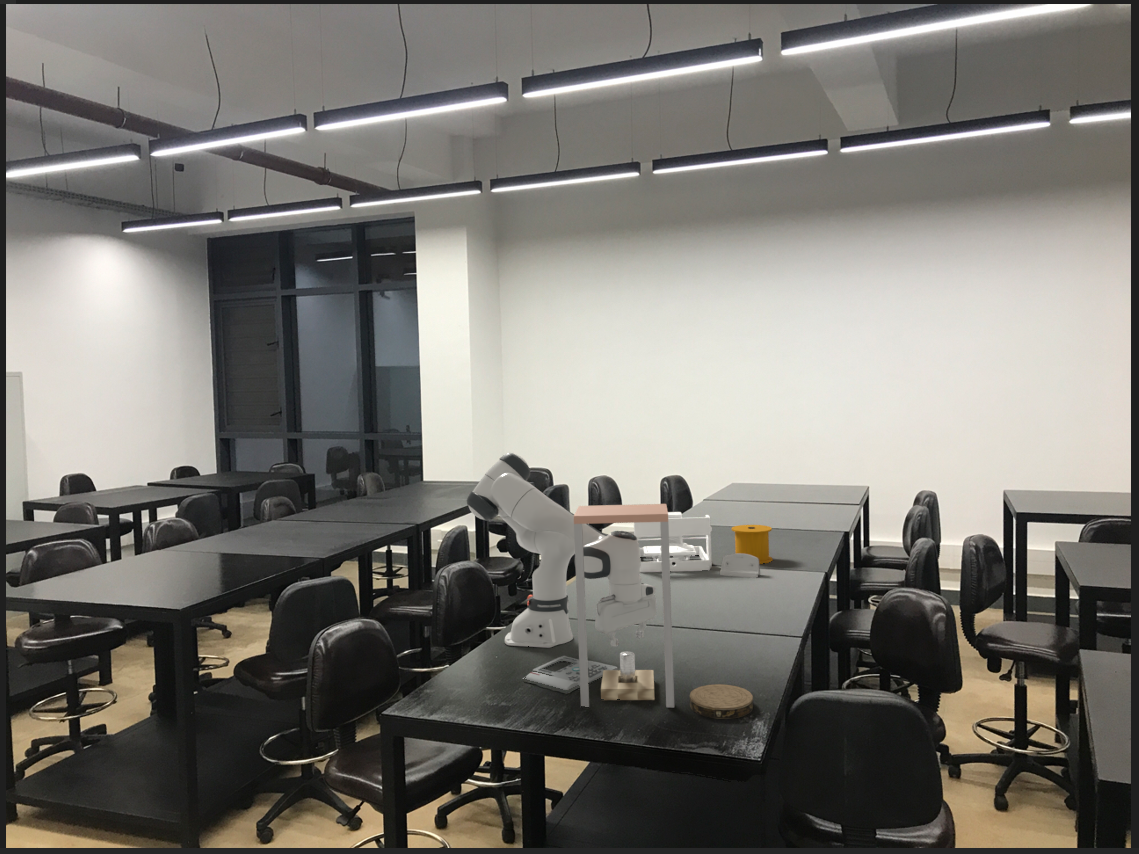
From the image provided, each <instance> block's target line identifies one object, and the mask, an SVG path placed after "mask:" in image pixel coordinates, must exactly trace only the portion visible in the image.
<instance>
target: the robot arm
mask: <svg viewBox="0 0 1139 854" xmlns="http://www.w3.org/2000/svg"><path fill="white" fill-rule="evenodd" d="M530 475H531V468H530V467H529V464H528V463H527V461H526V460H525V459H524V458H523V457H521V456H520V455H518V454H515V453H514V452H507V453H505V454H502V456H501V457H500V458H499V460H498V461H497V462H495V464H493V465H492V466H491V467H490V468H489V469H488V470H487V471H486V472H485V474H484V475H483V477H482V478H481V479H480V480H479V482H478V483H477V485H475V487H474V488H473V490H472V491H470V493H469V495H468V496H467V498H466V504H467V506H468V508H469V511H470V512H471V513H472V514H473V516H475V517H476V518H478V519H480V520H483V521H485V522H486V521H487V522H488V521H492V520H494V519H495V518H496V517H498V516H499V517H500V518H501V519H502V520H503V521H504V522H505V523H506V524H507V525H508V526H509V527H510V528H511V529H512V530H513V531H514V533H515V538H516V542H517V543H518V545H519V546H520V547H521V548H523V549H524V550H526V551H528V552H531V553H535V554H539V555H540V556H541V557H540V563H539V565H538V567H537V568H536V569H534V571H533V573H532V575H531V577H532V578H531V579H532V594H529V595H528V596H527V598H526V602H527V604H526V605H527V608H526V609H524V610H523V611H522V612H521V613H520V614H519V615H517V616H516V617H515V619H514V620H513V622H512V624H511V630H510V632H508V633H507V634H506V635H505V637H504V643H505V644H506V645H507V646H512V647H513V646H514V647H528V646H529V647H531V648H533V647H534V648H548V649H550V648H552V647H555V646H557V645H562V644H565V643H566V644H567V643H568V642H570V641H572V640H573V639H574V634H573V632H572V628H571V624H570V618H569V611H570V604H569V603H570V602H569V595H568V594H567V571H568V566H569V564H570V561H571V558H572V557H573V556H575V538H574V514H575V513H573V512H571V511H570V510H568V509H566V508H565V507H563V506H562V505H560V504H559V503H557V502H556V501H554V500H553V499H551V498H550V497H549V496H547V495H545V494H544V493H543V492H542V491H540V490H539V489H538V488H537V487H535V486H534V485H533V484H531V483H530V482H529V481H528V479H529V478H530ZM582 527H583V554H584V579H587V580H595V579H602V578H607V579H608V593H609V594H608V596H604V597H601V598H600V599H599V601H597V602H596V603H597V604H596V611H595V617H594V618H595V622H594V627H595V630H596V632H598V633H601V634H606V635H607V637H608V639H609V642H610V646H611V647H612V648H615V647H618V646H619V645H620V642H619V639H618V638H616V636H615V635H616V631H620V630H622V629H625V628H628V627H631V626H632V627H633V626H635V625H638V627H637V630H635V633H634V634H635V638H636V639H639V640H640V639H643V638H645V637H644V635H645V634H644V632H645V630H646V627H647V621H651V620H654V619H656V616H657V613H658V608H657V607H658V606H657V604H658V603H657V598H656V597H657V596H656V595H655V593H656V587H655V586H653V585H650V584H647V583H643V582H642V576H641V574H640V573H641V572H640V566H641V562H642V560H641V559H642V558H640V548H641V547H640V543H639V540H638V539H639V538H638V537H636V536H635V535H634V533H632V532H629V531H624V530H613V531H611V532H609V533H608V534H607V533H604V532H601V531H600V530H598V529H597V528H595V527H593V525H590V524H582ZM573 561H574V567H575V568H576V564H575V558H574V560H573Z"/></svg>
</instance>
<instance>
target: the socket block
mask: <svg viewBox="0 0 1139 854" xmlns="http://www.w3.org/2000/svg"><path fill="white" fill-rule="evenodd" d="M654 674H655V673H654V669H635V683H621V675H620V669H618V670H603V677H602V678H601V684H600V698H601V699H604V700H603V701H618V700H617V699H620V700H619V701H655V682H654V681H655V678H654ZM601 699H600V700H601Z"/></svg>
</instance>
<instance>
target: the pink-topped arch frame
mask: <svg viewBox="0 0 1139 854" xmlns="http://www.w3.org/2000/svg"><path fill="white" fill-rule="evenodd" d="M668 512H669V511H668V507H667V503H650V504H649V503H646V504H645V503H644V504H640V503H639V504H638V503H637V504H608V505H606V504H603V505H601V504H599V505H578V507H577V508H576V510H575V513H573V514H574V538H575V554H574V559H575V562H574V565H575V564H576V567H575V583H576V584H575V585H576V608H577V609H576V613H577V637H578V641H577V642H578V659H579V668H580V689H579V690H580V693H579V694H580V707H581V706H585V707H589V708H590V692H589V691H590V689H589V684H588V637H587V611H586V610H587V609H586V587H585V585H586V583H585V580H586V579H585V578H584V554H583V527H582V524H589V525H590V524H627V523H628V524H630V523H631V524H632V523H633V524H634V523H636V522H660V528H661V536H660V538H661V540H660V546H661V558H662V572H661V578H662V579H661V581H662V582H661V584H662V585H661V587H662V612H663V613H662V615H663V617H662V618H663V619H662V621H663V644H664V645H663V646H664V671H665V672H664V677H665V681H664V682H665V706H666V708H675V688H674V687H675V684H674V657H673V655H674V654H673V652H674V651H673V628H672V627H673V626H672V625H673V624H672V623H673V622H672V620H673V619H672V595H671V594H672V593H671V591H672V590H671V572H670V558H671V557H669V525H668Z"/></svg>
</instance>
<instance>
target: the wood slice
mask: <svg viewBox="0 0 1139 854" xmlns="http://www.w3.org/2000/svg"><path fill="white" fill-rule="evenodd" d="M689 706H690V709H691V710H692V712H695V713H696V714H698V715H700V716H703V717H705V718H706V717H707V718H711V719H721V720H722V719H724V720H727V719H736V718H741V717H745V716H746V715H748V714H750V713H751V712H752V711H753V709H754V708H753V707H754V696H753V694H752V693H751V691H749V690H748V689H746V688H743V687H741V686H737V685H731V684H722V683H720V684H719V683H715V684H706V685H705V684H704V685H702V686H699V687H696V688H694V689H692V690H691V691H690V694H689Z"/></svg>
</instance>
